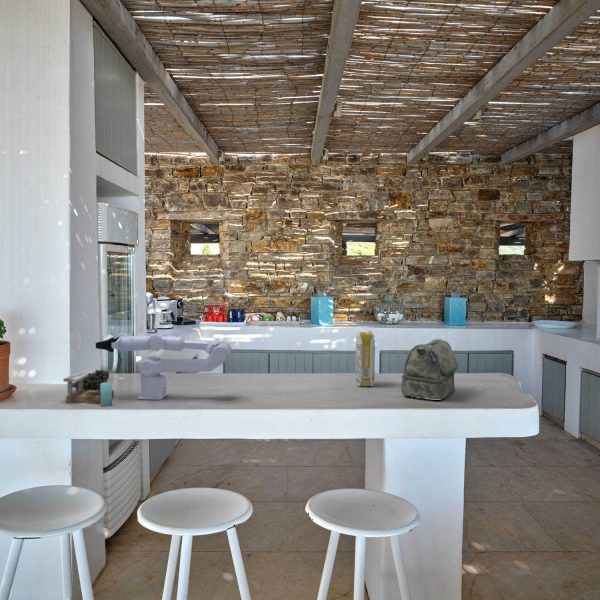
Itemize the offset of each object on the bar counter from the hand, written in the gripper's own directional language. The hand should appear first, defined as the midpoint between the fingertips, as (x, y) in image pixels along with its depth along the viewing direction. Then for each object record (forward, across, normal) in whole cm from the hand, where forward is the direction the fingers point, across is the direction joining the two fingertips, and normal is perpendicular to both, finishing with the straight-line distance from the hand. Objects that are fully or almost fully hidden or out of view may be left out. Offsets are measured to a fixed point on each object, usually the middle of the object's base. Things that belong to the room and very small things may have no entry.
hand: (99, 344), depth 216 cm
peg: (-6, +11, +22) cm, 25 cm away
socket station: (+3, +4, +21) cm, 21 cm away
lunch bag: (-130, -14, +27) cm, 133 cm away
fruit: (+9, -11, +20) cm, 24 cm away
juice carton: (-104, -29, +24) cm, 111 cm away
